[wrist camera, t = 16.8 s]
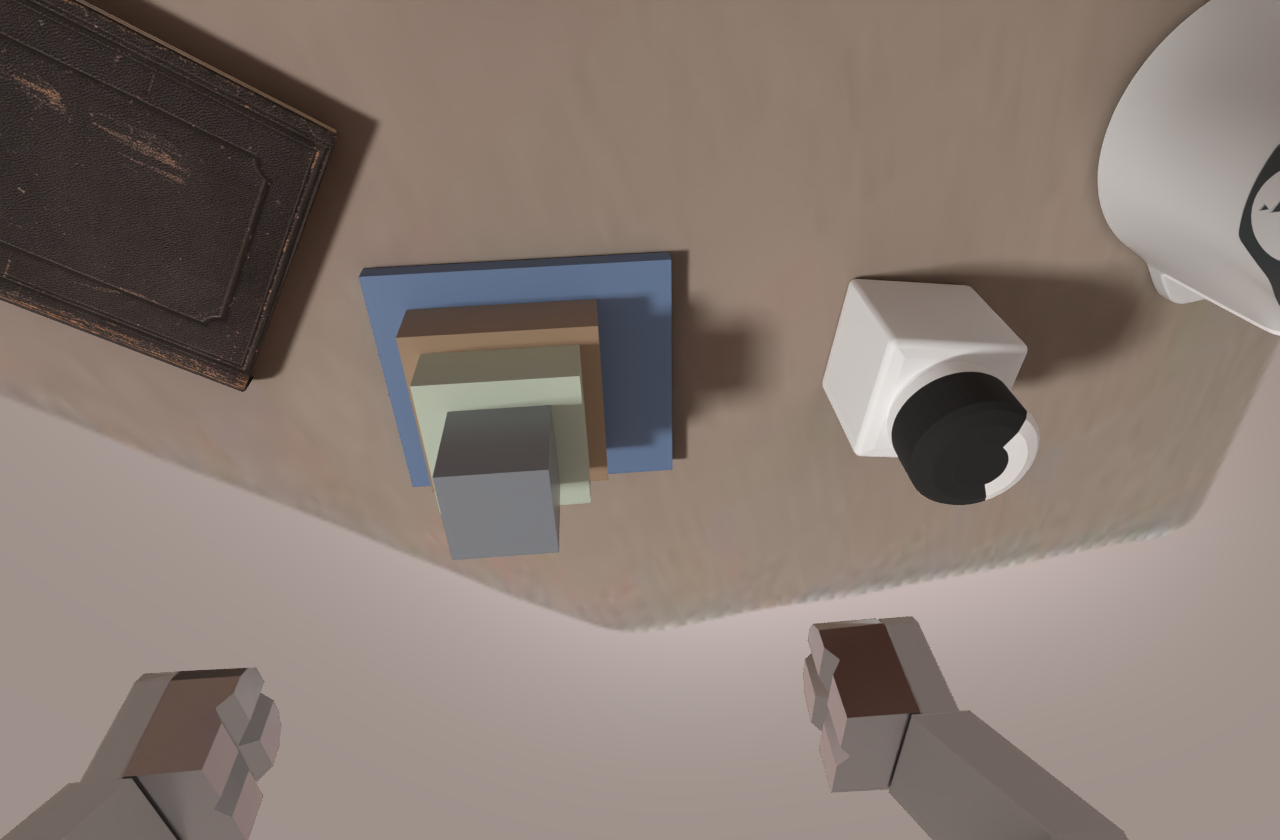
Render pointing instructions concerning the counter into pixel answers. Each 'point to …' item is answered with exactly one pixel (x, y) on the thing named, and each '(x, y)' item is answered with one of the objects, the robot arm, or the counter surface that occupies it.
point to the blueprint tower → (532, 355)
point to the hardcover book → (146, 189)
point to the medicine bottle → (932, 387)
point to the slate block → (499, 482)
